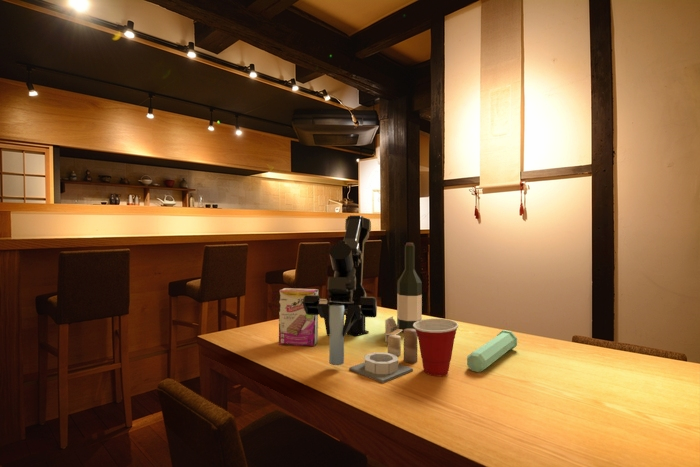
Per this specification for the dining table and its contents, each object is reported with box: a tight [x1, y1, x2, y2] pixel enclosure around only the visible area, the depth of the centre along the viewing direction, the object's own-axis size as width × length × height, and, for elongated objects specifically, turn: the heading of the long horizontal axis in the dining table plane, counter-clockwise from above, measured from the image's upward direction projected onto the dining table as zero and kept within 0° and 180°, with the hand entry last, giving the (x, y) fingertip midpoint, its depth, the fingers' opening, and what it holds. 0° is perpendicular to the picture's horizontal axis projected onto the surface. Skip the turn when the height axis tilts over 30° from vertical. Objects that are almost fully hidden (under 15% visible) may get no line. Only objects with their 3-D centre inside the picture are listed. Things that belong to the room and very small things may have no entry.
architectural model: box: [384, 316, 402, 344], centre depth 118 cm, size 3×7×7 cm, turn 151°
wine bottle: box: [396, 242, 423, 334], centre depth 131 cm, size 8×8×30 cm
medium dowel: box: [403, 329, 419, 364], centre depth 101 cm, size 4×4×8 cm
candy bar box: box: [278, 287, 319, 347], centre depth 115 cm, size 11×5×16 cm, turn 84°
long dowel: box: [328, 305, 345, 366], centre depth 94 cm, size 4×4×14 cm
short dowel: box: [387, 334, 402, 358], centre depth 105 cm, size 4×4×5 cm
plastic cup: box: [413, 318, 459, 377], centre depth 93 cm, size 11×11×12 cm
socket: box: [348, 351, 414, 384], centre depth 93 cm, size 11×11×3 cm
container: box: [466, 329, 518, 373], centre depth 102 cm, size 6×6×25 cm
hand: (335, 335), depth 93 cm, fingers closed on long dowel, 4 cm apart
